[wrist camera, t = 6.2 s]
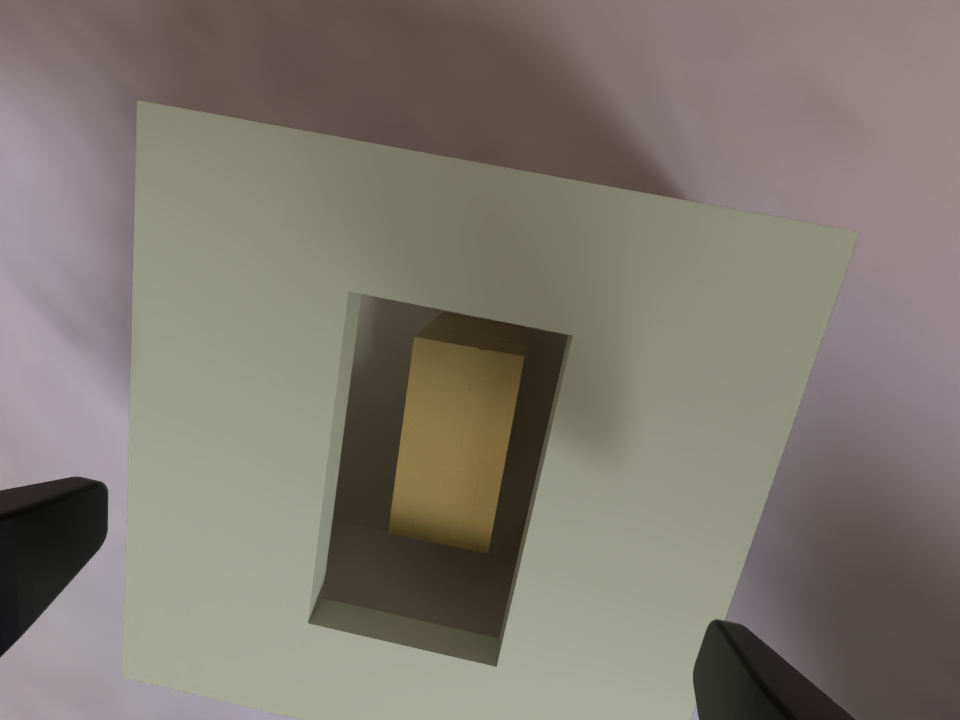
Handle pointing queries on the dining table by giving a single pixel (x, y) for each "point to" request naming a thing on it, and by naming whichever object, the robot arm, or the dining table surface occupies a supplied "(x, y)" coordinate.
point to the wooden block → (456, 430)
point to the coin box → (380, 410)
